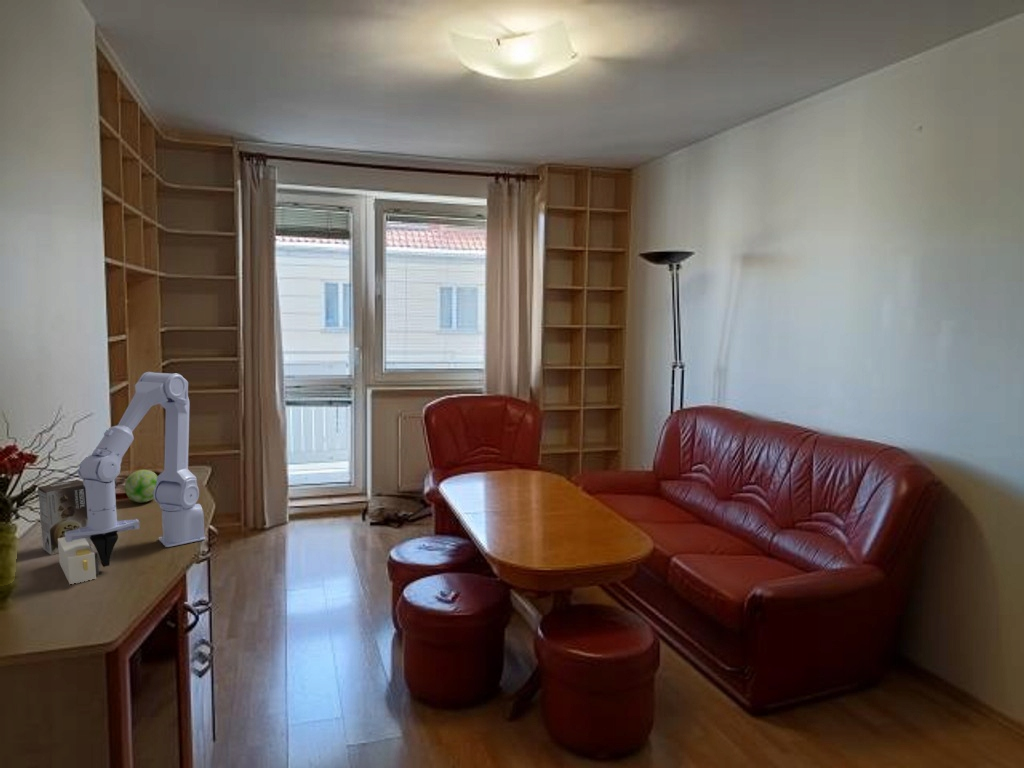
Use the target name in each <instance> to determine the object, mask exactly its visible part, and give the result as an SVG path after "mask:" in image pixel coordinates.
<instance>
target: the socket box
mask: <svg viewBox="0 0 1024 768" xmlns="http://www.w3.org/2000/svg"><path fill="white" fill-rule="evenodd" d="M58 550H59V553H58V561H59V562H58V563H59V565H60V567H61V569H62V571H63V573H64V575H65V578H66V580H67V581H68V584H69V585H70V584H72V585H75V584H74V583H76V584H80V582H81V583H84V581H85V582H89V581H88V580H90V581H93V580H92V579H95V580H97V576H96V567H95V553H96V552H95V551H94V550H93V548H92V547H91V545H89V544H88V542H87V541H86V539H85V538H83V539H78V540H72V542H66V540H65V537H64V538H58Z"/></svg>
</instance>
